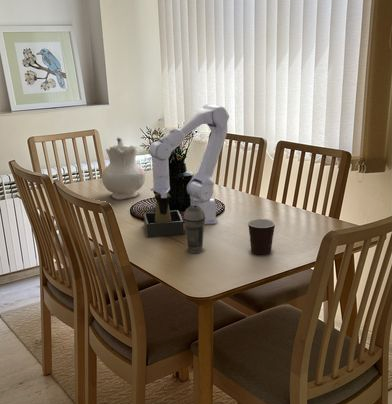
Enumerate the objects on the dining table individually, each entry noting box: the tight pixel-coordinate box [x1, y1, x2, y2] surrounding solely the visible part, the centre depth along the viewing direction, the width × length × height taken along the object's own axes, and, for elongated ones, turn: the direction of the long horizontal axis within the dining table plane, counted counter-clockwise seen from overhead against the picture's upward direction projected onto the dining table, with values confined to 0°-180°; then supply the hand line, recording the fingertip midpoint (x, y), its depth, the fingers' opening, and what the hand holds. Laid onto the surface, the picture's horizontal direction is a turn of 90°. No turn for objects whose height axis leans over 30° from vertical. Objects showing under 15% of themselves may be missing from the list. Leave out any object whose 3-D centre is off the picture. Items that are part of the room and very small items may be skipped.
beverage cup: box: [182, 192, 205, 254], centre depth 180 cm, size 7×7×20 cm
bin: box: [143, 209, 185, 238], centre depth 202 cm, size 13×13×5 cm
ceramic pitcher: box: [101, 136, 146, 201], centre depth 244 cm, size 22×20×25 cm
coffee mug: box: [248, 218, 276, 257], centre depth 180 cm, size 12×9×10 cm
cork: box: [154, 192, 171, 223], centre depth 200 cm, size 6×6×11 cm
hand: (162, 211), depth 201 cm, fingers closed on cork, 5 cm apart
